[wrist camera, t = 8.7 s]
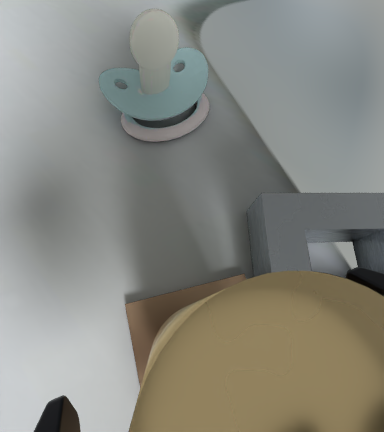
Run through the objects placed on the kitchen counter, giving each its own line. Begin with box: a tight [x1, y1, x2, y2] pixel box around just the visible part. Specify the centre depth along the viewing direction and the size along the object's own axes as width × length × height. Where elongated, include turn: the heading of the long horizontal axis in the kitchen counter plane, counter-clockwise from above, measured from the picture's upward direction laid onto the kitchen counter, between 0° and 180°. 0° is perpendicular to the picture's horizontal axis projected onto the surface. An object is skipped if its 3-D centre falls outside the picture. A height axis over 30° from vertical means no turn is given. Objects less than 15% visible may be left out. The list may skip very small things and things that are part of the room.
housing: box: [247, 193, 384, 277], centre depth 17 cm, size 9×9×3 cm
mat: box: [125, 274, 246, 388], centre depth 16 cm, size 7×7×1 cm
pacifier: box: [99, 9, 210, 142], centre depth 19 cm, size 7×6×6 cm
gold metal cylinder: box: [129, 271, 384, 432], centre depth 10 cm, size 5×5×13 cm
